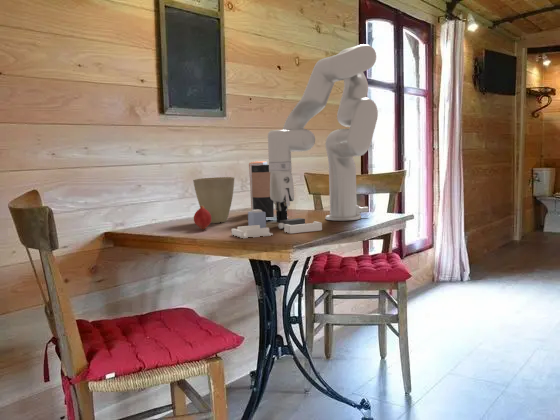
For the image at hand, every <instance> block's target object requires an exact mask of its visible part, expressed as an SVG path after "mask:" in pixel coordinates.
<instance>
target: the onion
mask: <svg viewBox="0 0 560 420" xmlns="http://www.w3.org/2000/svg"><path fill="white" fill-rule="evenodd" d="M211 219H212V218H211V214H210V213H209V211H208V210H206V209H205V208H204V206H201V208H200V207H199V208H198V209H197V210H196V212H195V213H194V215H193V223H194V224H195V226H197V227H198V228H199V229H201V230H202V231H203V230H205V229H207V228H208V226H210V225H211V224H212V223H211Z"/></svg>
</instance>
